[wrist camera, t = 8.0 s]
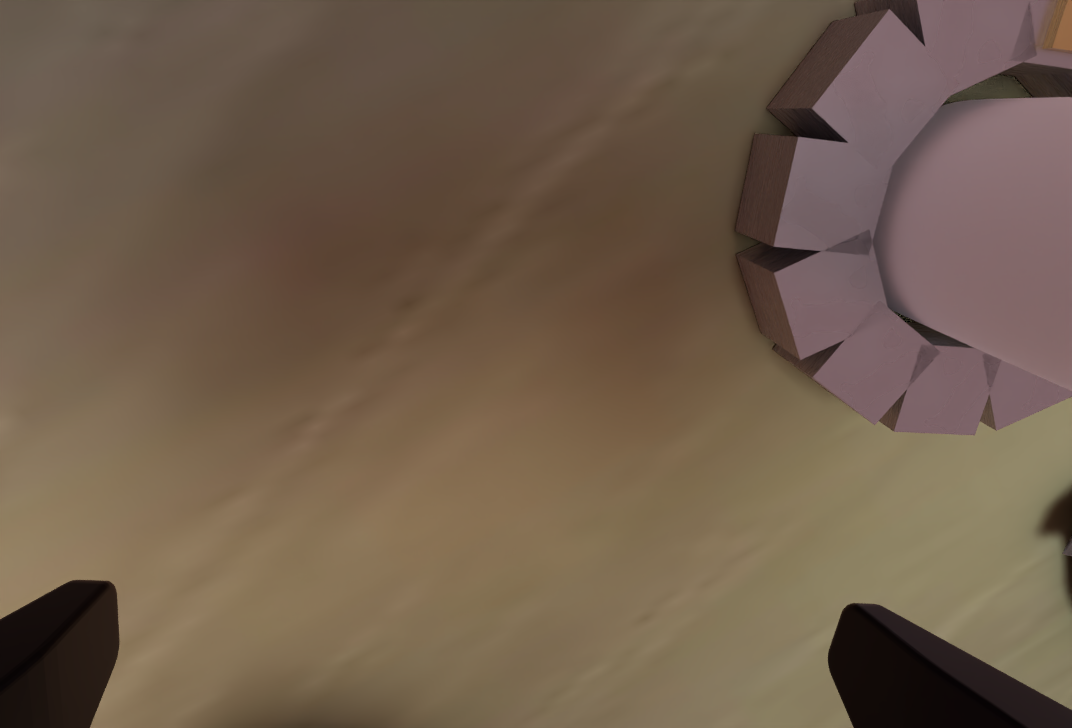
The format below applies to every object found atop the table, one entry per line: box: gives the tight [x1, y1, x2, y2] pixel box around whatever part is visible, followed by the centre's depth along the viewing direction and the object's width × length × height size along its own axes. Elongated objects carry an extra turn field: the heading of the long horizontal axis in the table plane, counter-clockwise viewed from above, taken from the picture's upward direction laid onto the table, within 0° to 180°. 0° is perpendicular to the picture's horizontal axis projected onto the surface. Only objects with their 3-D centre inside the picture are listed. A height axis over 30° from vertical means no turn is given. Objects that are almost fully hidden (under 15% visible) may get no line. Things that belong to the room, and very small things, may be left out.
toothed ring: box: [735, 0, 1072, 435], centre depth 20 cm, size 13×13×3 cm
